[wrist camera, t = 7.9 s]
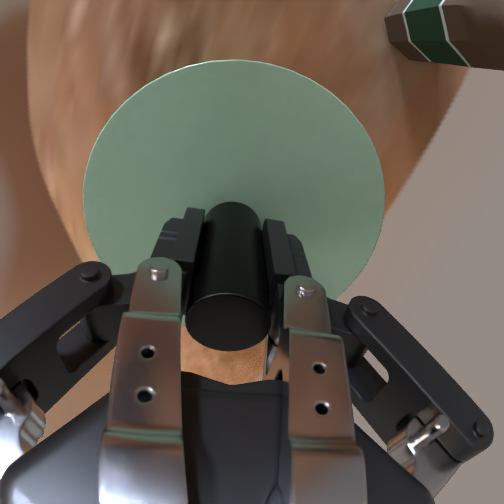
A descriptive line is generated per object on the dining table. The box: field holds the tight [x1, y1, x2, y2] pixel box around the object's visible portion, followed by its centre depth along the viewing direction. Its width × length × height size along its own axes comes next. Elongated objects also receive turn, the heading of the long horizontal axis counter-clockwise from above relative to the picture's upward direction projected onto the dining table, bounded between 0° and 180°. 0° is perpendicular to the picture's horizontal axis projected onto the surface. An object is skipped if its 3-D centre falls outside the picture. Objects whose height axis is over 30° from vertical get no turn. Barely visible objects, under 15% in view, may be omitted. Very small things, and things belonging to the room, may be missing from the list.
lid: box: [83, 60, 385, 351], centre depth 11 cm, size 14×14×7 cm
